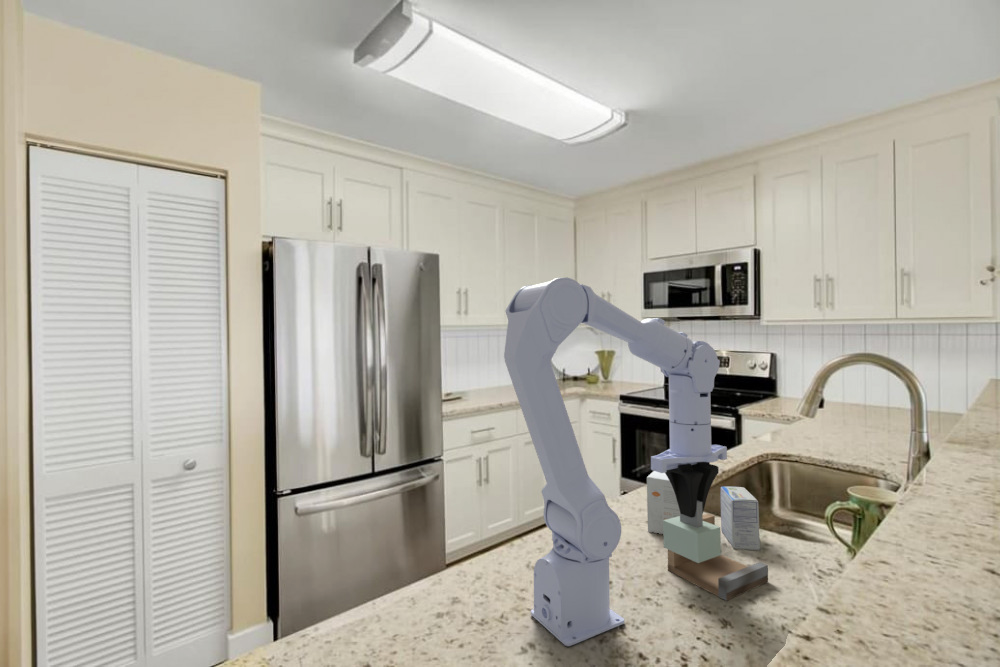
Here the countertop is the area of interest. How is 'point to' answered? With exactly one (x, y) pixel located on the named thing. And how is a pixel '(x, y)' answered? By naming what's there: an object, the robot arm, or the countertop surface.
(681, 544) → the mint block with tab
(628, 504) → the countertop surface
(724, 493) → the medicine box
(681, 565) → the board
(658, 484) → the small box
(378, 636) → the countertop surface
